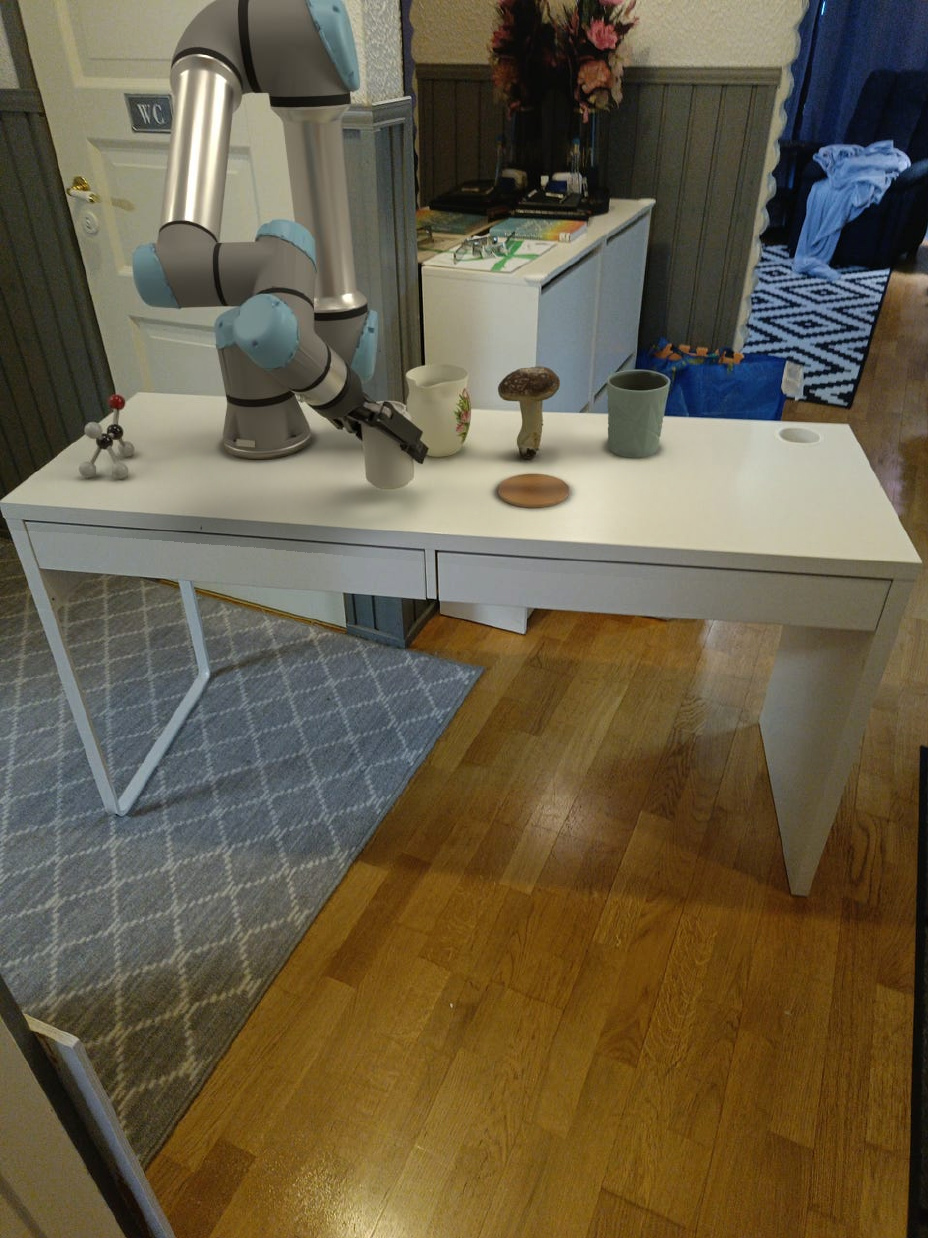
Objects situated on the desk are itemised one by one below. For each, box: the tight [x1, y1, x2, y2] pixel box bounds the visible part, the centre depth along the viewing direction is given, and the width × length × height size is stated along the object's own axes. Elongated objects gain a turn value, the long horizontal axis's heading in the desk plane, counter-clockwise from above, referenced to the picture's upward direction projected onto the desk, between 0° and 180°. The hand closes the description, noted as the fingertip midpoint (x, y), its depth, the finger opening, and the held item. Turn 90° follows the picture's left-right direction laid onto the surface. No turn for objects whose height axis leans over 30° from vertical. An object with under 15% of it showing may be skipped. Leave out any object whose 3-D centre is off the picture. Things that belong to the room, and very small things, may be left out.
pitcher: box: [405, 363, 472, 458], centre depth 149 cm, size 11×18×14 cm, turn 165°
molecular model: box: [78, 393, 135, 480], centre depth 146 cm, size 8×12×11 cm
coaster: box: [497, 473, 570, 509], centre depth 137 cm, size 11×11×1 cm
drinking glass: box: [606, 369, 671, 459], centre depth 147 cm, size 10×10×12 cm
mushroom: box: [497, 366, 561, 460], centre depth 144 cm, size 9×9×15 cm
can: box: [361, 400, 415, 490], centre depth 133 cm, size 8×8×12 cm
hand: (401, 450), depth 137 cm, fingers closed on can, 7 cm apart
